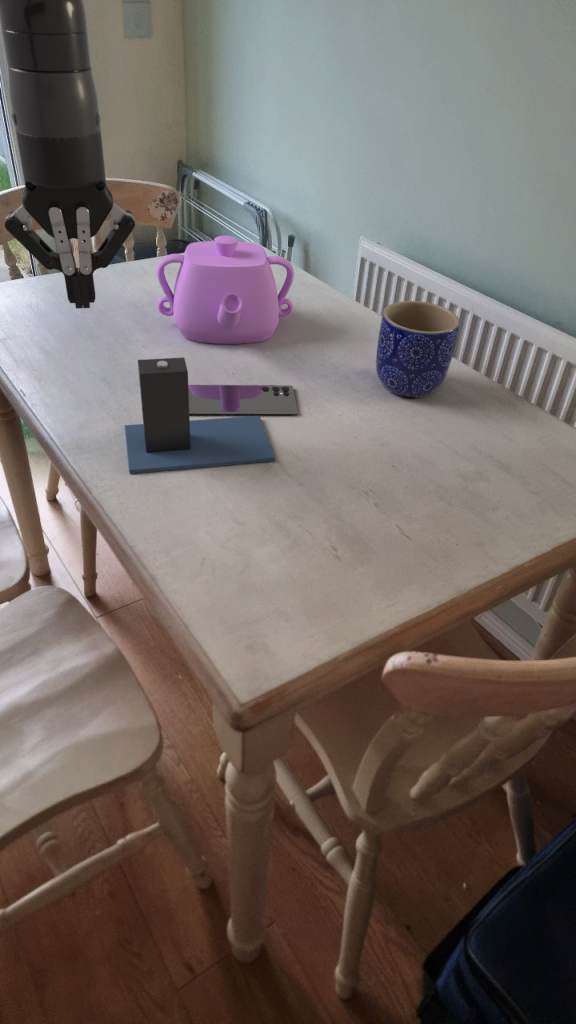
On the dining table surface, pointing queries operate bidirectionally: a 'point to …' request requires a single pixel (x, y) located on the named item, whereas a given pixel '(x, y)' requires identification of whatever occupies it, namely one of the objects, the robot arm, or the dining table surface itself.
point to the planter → (415, 347)
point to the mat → (204, 446)
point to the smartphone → (241, 400)
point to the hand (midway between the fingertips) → (82, 305)
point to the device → (165, 404)
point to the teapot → (225, 292)
